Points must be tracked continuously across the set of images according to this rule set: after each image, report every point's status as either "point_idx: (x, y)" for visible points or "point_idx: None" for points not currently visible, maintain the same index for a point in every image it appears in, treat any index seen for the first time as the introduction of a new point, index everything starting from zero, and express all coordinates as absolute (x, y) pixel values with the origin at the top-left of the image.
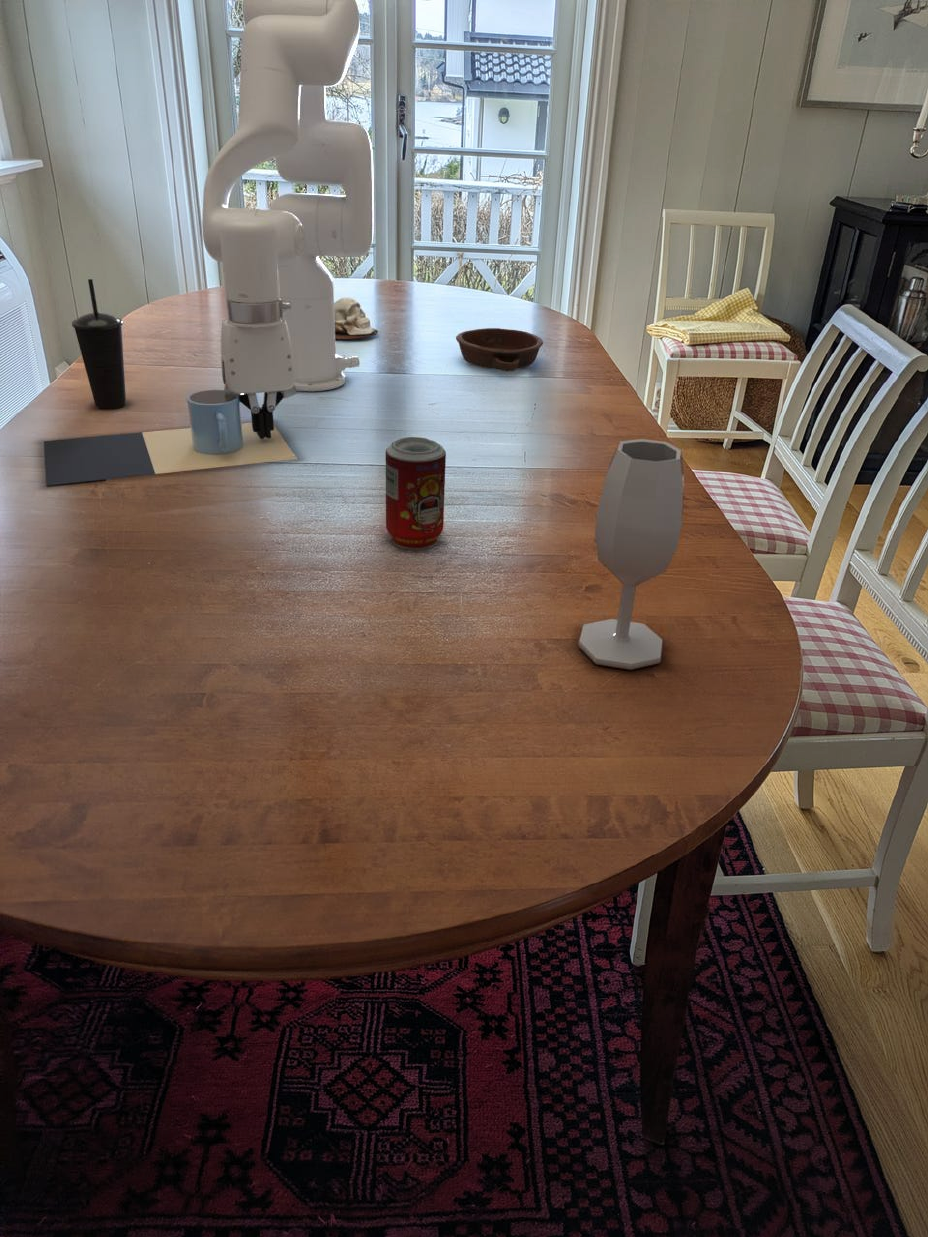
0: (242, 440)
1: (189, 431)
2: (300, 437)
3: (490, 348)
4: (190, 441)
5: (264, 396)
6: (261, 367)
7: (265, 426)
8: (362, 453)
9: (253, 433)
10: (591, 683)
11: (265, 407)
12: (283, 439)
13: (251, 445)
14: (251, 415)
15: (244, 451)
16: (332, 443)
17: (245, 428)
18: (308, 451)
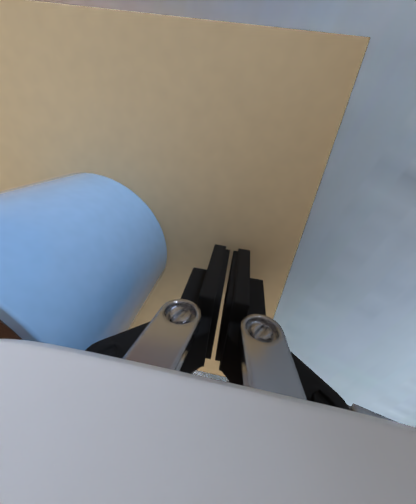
0: (155, 287)
1: (9, 56)
2: (348, 273)
3: None
4: (26, 171)
5: (242, 373)
6: None
7: (220, 324)
8: (402, 415)
9: (223, 187)
10: None
11: (224, 370)
12: (286, 278)
13: (184, 279)
14: (182, 296)
15: (158, 303)
16: (393, 348)
17: (216, 114)
18: (301, 358)
